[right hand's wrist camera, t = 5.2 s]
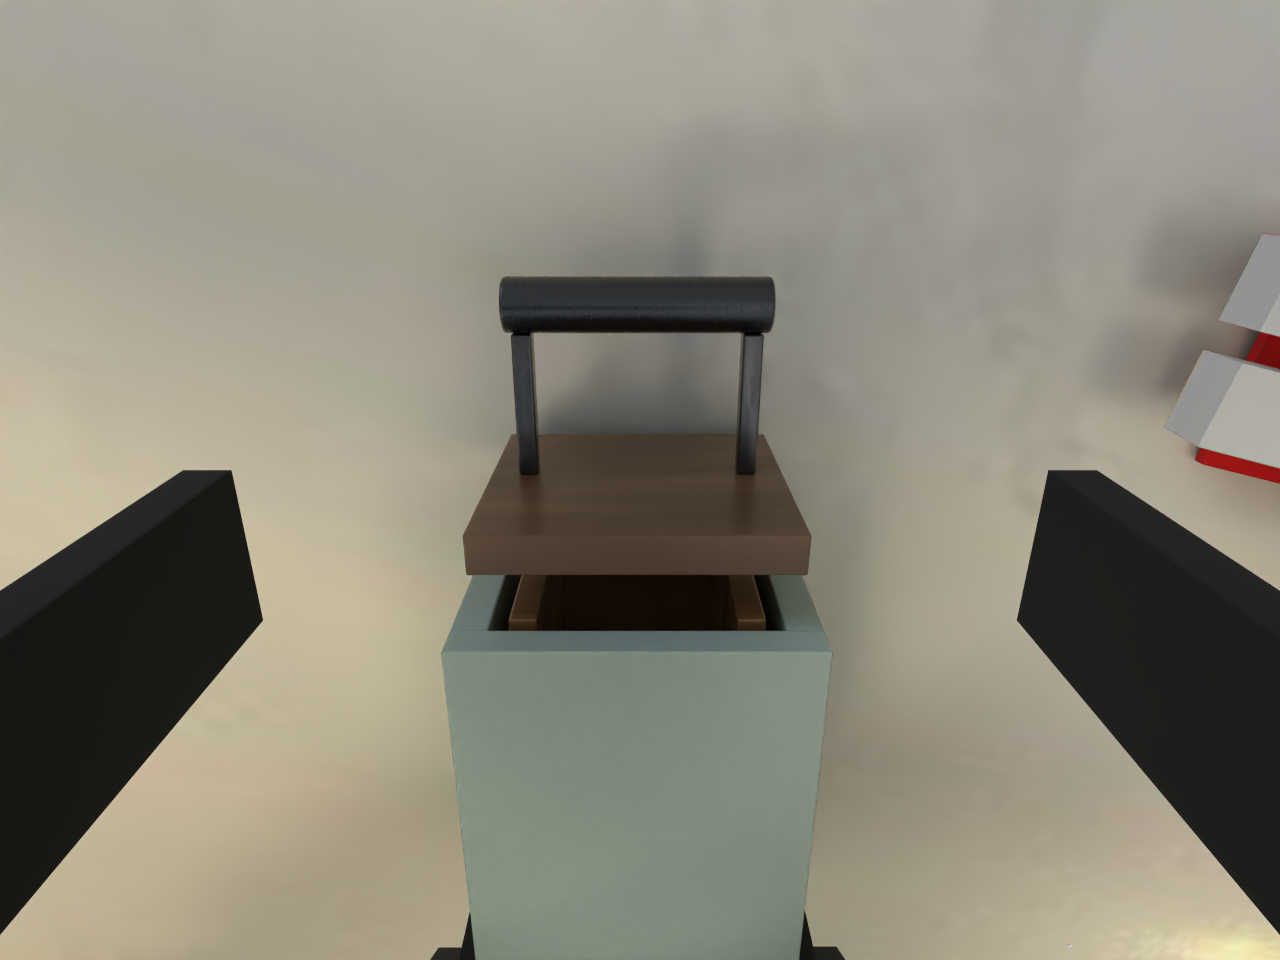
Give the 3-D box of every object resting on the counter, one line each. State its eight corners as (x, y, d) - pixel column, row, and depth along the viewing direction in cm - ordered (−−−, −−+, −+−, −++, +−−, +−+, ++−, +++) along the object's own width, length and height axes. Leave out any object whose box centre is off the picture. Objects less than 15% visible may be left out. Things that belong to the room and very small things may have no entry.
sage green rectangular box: (504, 496, 30) (440, 652, 20) (771, 496, 30) (833, 652, 20) (528, 840, 37) (488, 1082, 27) (747, 840, 37) (786, 1081, 27)
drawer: (500, 262, 26) (440, 301, 18) (774, 262, 26) (833, 302, 18) (534, 786, 34) (502, 968, 26) (741, 786, 34) (771, 967, 26)
